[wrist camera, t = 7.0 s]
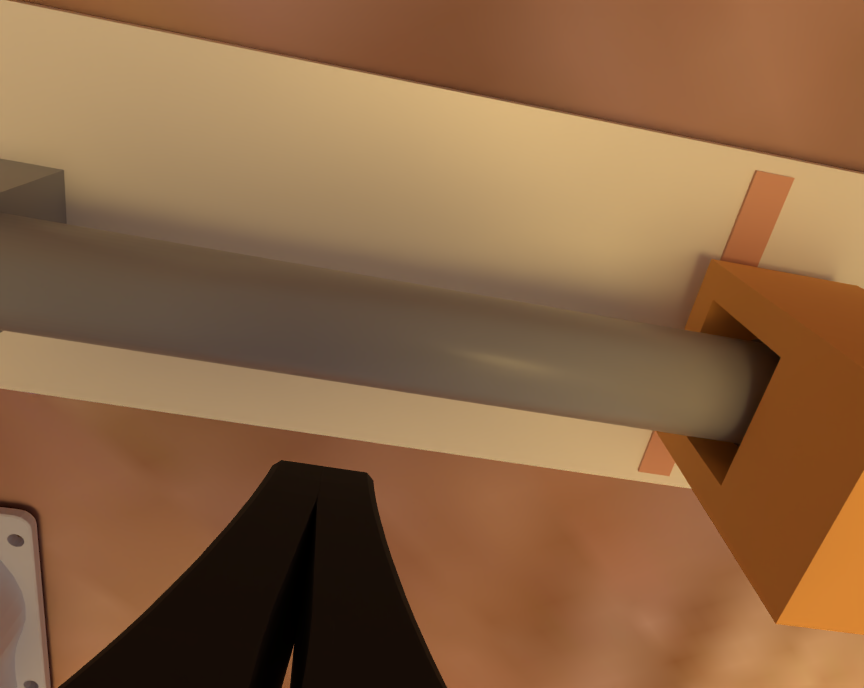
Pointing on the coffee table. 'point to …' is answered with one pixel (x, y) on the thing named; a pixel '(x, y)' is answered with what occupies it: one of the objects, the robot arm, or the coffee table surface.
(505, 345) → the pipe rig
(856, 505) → the orange block with hole
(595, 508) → the coffee table surface
